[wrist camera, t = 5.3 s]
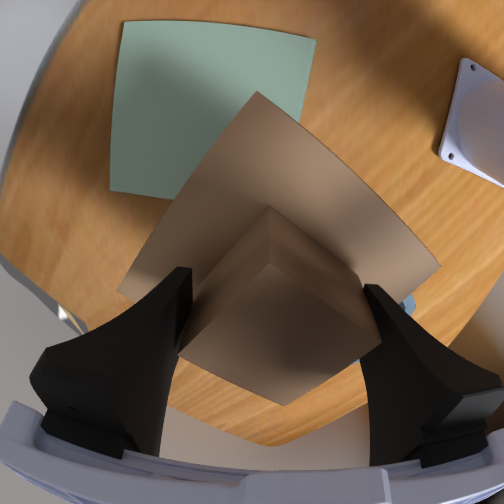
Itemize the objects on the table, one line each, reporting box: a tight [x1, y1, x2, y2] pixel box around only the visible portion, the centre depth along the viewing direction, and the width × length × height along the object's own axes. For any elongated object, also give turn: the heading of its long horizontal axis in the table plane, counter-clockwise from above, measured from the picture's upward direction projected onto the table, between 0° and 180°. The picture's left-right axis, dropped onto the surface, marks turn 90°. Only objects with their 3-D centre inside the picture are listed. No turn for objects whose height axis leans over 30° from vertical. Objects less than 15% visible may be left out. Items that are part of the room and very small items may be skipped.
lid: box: [117, 91, 441, 406], centre depth 12 cm, size 11×11×5 cm
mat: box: [110, 21, 317, 200], centre depth 18 cm, size 12×12×1 cm
